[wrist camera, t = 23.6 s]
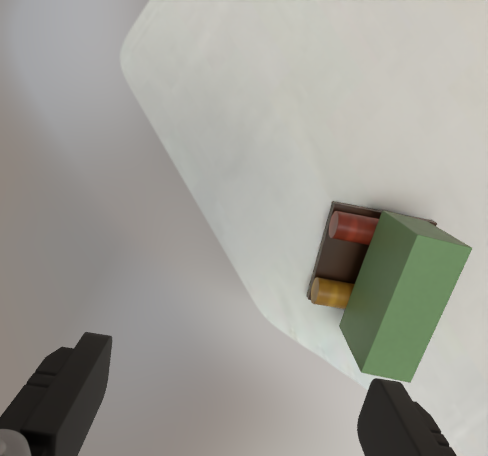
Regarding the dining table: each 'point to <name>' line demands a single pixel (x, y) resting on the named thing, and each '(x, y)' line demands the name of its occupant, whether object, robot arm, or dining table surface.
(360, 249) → the rod rack
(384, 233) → the bar
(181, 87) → the dining table surface
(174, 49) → the dining table surface
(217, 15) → the dining table surface
